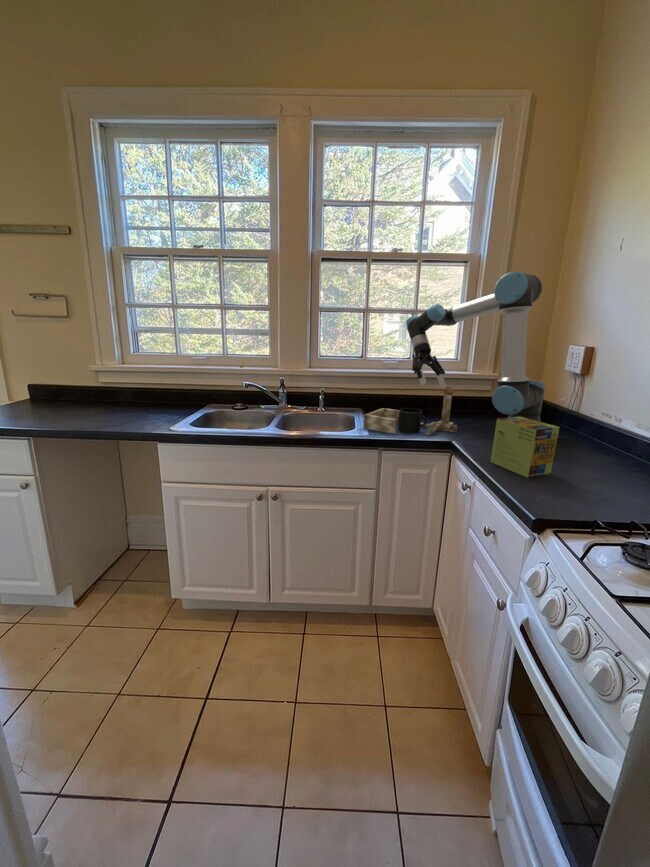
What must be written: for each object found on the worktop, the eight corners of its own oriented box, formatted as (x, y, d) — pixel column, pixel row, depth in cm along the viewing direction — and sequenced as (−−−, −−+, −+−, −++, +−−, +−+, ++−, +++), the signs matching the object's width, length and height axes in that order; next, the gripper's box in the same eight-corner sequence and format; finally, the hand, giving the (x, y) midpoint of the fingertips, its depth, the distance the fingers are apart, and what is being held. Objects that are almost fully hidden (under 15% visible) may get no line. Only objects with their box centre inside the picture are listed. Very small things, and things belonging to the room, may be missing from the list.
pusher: (452, 429, 174) (457, 386, 169) (441, 437, 161) (446, 391, 156) (438, 426, 178) (443, 384, 172) (426, 434, 164) (430, 389, 159)
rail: (456, 430, 173) (457, 425, 172) (454, 432, 170) (455, 427, 169) (401, 421, 187) (401, 416, 186) (398, 423, 183) (398, 418, 183)
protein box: (528, 478, 121) (536, 429, 116) (489, 462, 134) (496, 418, 130) (551, 474, 125) (561, 426, 120) (512, 458, 138) (519, 415, 134)
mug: (425, 435, 165) (426, 414, 163) (396, 432, 169) (397, 411, 166) (426, 429, 174) (428, 409, 171) (399, 426, 177) (400, 407, 175)
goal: (411, 424, 181) (412, 412, 179) (394, 433, 166) (395, 420, 164) (381, 420, 189) (382, 407, 187) (363, 428, 174) (363, 414, 172)
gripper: (432, 354, 196) (445, 392, 190) (397, 346, 182) (409, 387, 175) (444, 346, 191) (457, 385, 184) (408, 337, 177) (421, 379, 170)
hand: (433, 386), depth 180 cm, fingers open, 13 cm apart
